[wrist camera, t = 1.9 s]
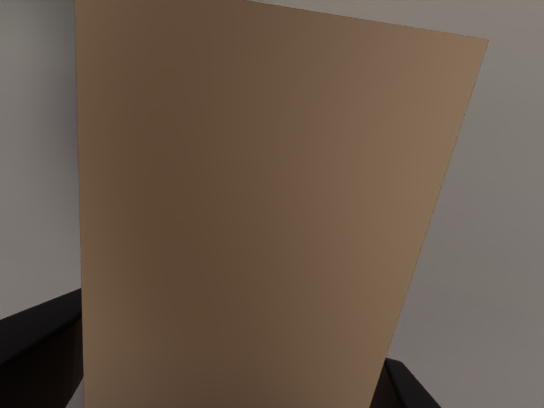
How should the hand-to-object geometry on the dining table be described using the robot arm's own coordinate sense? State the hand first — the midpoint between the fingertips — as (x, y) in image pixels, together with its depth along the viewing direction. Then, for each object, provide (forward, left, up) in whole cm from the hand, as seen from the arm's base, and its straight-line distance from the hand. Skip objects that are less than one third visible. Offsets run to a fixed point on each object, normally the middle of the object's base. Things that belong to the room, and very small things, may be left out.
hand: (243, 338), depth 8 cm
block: (0, 0, -2) cm, 2 cm away
